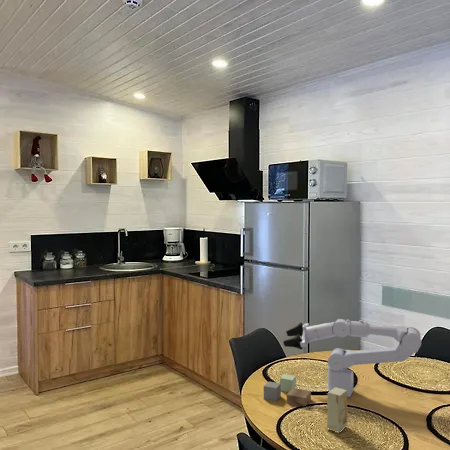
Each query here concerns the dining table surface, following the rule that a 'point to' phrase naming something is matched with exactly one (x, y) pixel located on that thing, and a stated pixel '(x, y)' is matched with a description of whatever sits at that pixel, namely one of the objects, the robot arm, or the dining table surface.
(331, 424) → the skincare box
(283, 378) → the sage cube
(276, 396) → the grey cube
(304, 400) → the walnut block
